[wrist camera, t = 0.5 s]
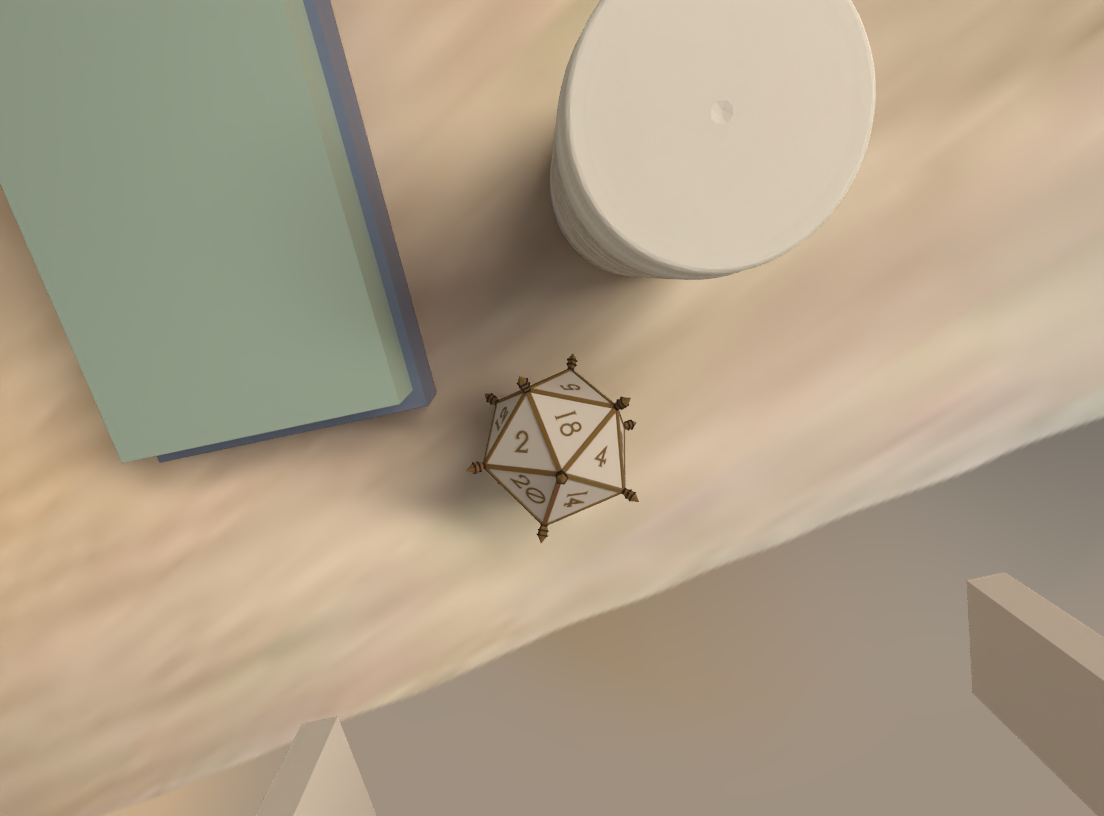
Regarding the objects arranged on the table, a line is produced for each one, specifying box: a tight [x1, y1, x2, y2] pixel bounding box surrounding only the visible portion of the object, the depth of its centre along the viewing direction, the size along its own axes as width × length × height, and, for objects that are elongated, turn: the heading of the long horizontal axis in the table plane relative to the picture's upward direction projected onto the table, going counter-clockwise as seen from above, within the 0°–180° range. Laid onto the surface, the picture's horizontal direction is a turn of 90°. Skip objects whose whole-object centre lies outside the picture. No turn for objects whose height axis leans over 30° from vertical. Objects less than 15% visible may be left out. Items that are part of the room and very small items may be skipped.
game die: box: [466, 354, 639, 543], centre depth 29 cm, size 9×8×10 cm
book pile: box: [0, 0, 436, 463], centre depth 28 cm, size 22×15×6 cm
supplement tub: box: [550, 0, 875, 280], centre depth 23 cm, size 10×10×15 cm
